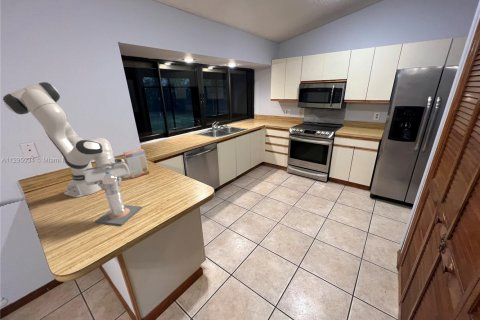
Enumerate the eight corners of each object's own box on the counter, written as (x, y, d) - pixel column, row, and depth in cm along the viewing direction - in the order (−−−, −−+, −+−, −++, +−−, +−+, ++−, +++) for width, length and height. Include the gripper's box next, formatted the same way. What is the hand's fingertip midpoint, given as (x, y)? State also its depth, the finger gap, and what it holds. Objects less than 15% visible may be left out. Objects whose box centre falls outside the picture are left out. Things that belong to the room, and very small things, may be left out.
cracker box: (146, 171, 168) (141, 148, 161) (149, 173, 164) (144, 149, 157) (129, 177, 159) (123, 152, 152) (131, 179, 155) (125, 153, 148)
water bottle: (114, 210, 111) (102, 169, 103) (127, 209, 112) (117, 168, 104) (109, 218, 105) (97, 175, 96) (123, 215, 106) (112, 173, 98)
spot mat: (95, 222, 103) (94, 220, 103) (118, 205, 118) (118, 204, 118) (121, 225, 100) (121, 223, 100) (142, 208, 115) (141, 206, 115)
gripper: (80, 166, 99) (85, 191, 95) (126, 158, 110) (132, 180, 105) (84, 172, 104) (88, 195, 100) (127, 163, 115) (133, 184, 110)
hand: (111, 187), depth 102 cm, fingers open, 6 cm apart
